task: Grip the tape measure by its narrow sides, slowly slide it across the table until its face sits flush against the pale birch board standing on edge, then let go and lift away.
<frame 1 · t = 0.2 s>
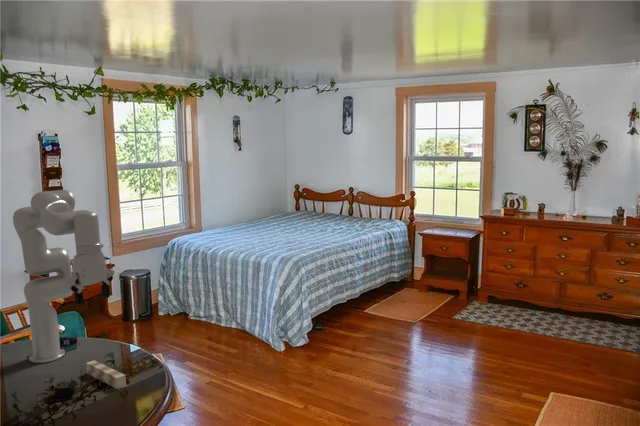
hand: (93, 300, 177), 30 cm above the table, fingers open, 9 cm apart
tape measure: (67, 394, 177), on the table
birch board: (106, 379, 187), on the table
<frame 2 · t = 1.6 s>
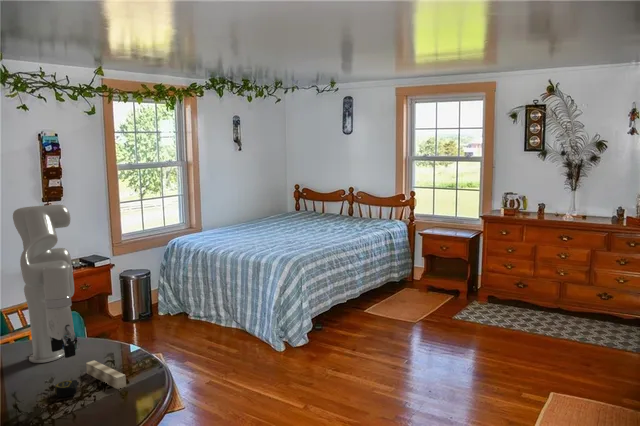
hand: (63, 353, 175), 14 cm above the table, fingers open, 9 cm apart
nothing on the table moved.
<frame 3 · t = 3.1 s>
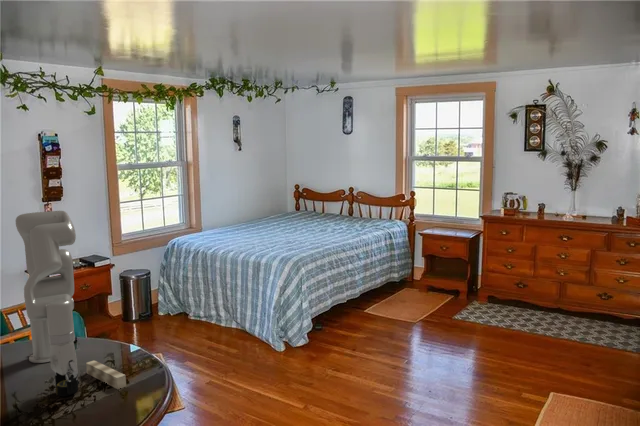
hand: (66, 388, 176), 2 cm above the table, fingers closed on tape measure, 8 cm apart
tape measure: (70, 393, 177), on the table, touching gripper
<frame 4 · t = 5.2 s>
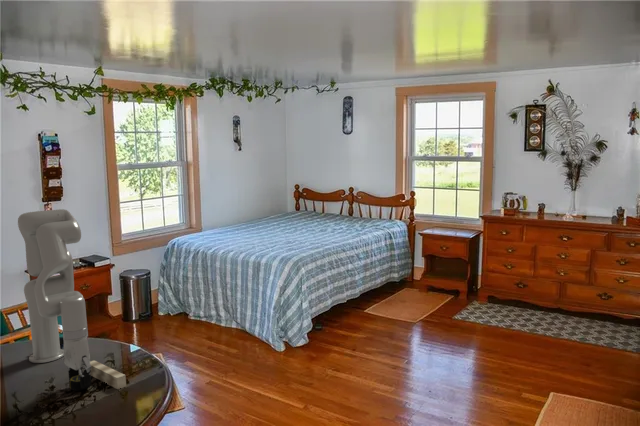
hand: (80, 383, 180), 2 cm above the table, fingers closed on tape measure, 8 cm apart
tape measure: (83, 388, 181), on the table, touching gripper
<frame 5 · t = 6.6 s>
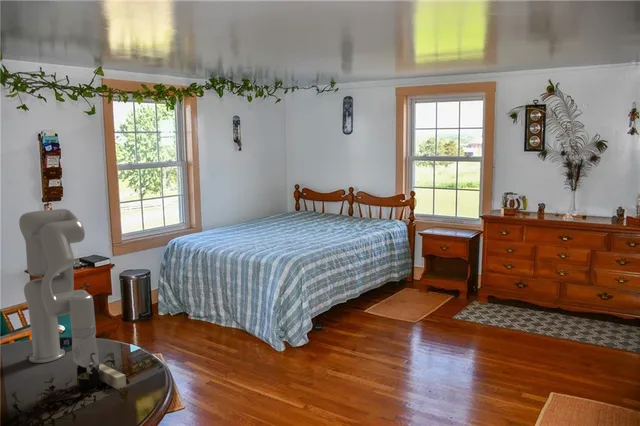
hand: (88, 380, 182), 2 cm above the table, fingers closed on tape measure, 8 cm apart
tape measure: (90, 385, 183), on the table, touching birch board, gripper
when the fingers open (2 cm above the table, at t = 7.2 s): tape measure stays where it is, on the table.
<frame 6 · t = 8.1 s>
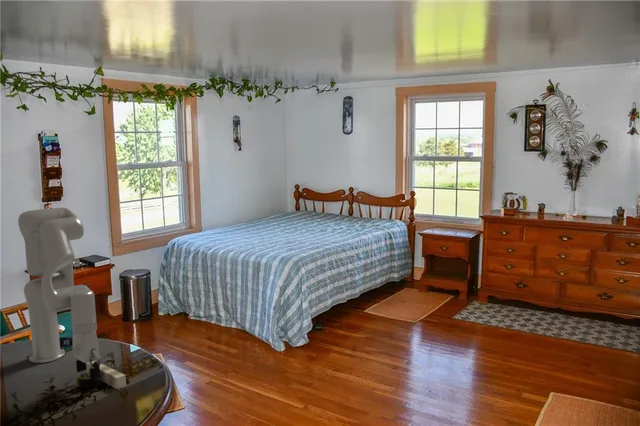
hand: (88, 374, 182), 4 cm above the table, fingers open, 9 cm apart
tape measure: (90, 385, 183), on the table
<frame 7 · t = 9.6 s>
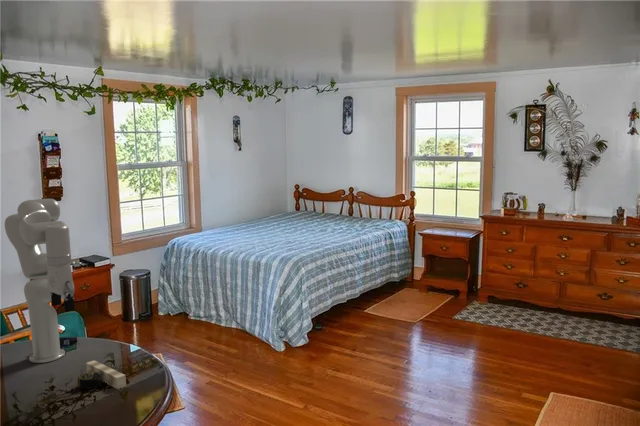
hand: (63, 307, 187), 26 cm above the table, fingers open, 9 cm apart
nothing on the table moved.
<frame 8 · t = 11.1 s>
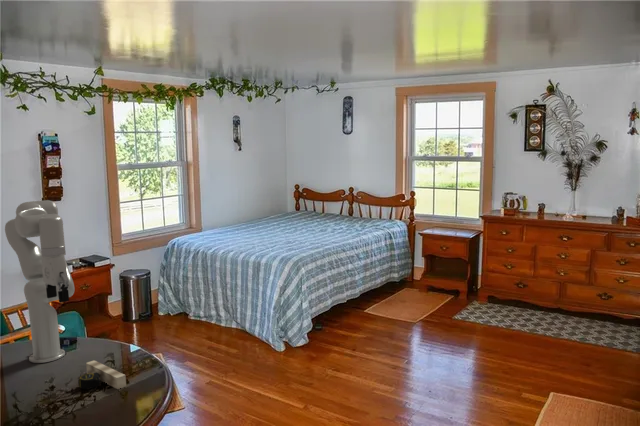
hand: (58, 299, 188), 28 cm above the table, fingers open, 9 cm apart
nothing on the table moved.
at the end: tape measure tilted 0°; the gripper is holding nothing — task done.
